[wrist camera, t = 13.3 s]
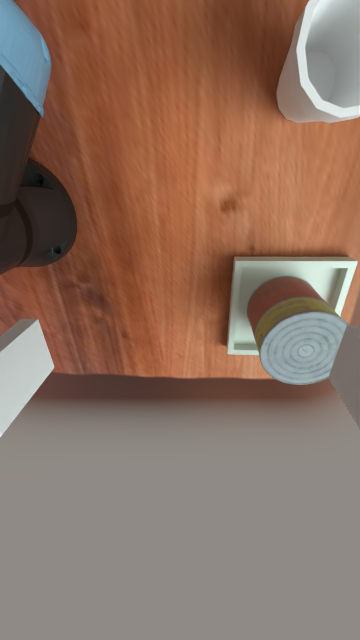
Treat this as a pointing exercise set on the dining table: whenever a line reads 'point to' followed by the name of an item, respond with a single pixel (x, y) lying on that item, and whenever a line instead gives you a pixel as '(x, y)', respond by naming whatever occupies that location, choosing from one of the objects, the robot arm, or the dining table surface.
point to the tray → (252, 272)
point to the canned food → (294, 330)
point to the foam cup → (323, 64)
